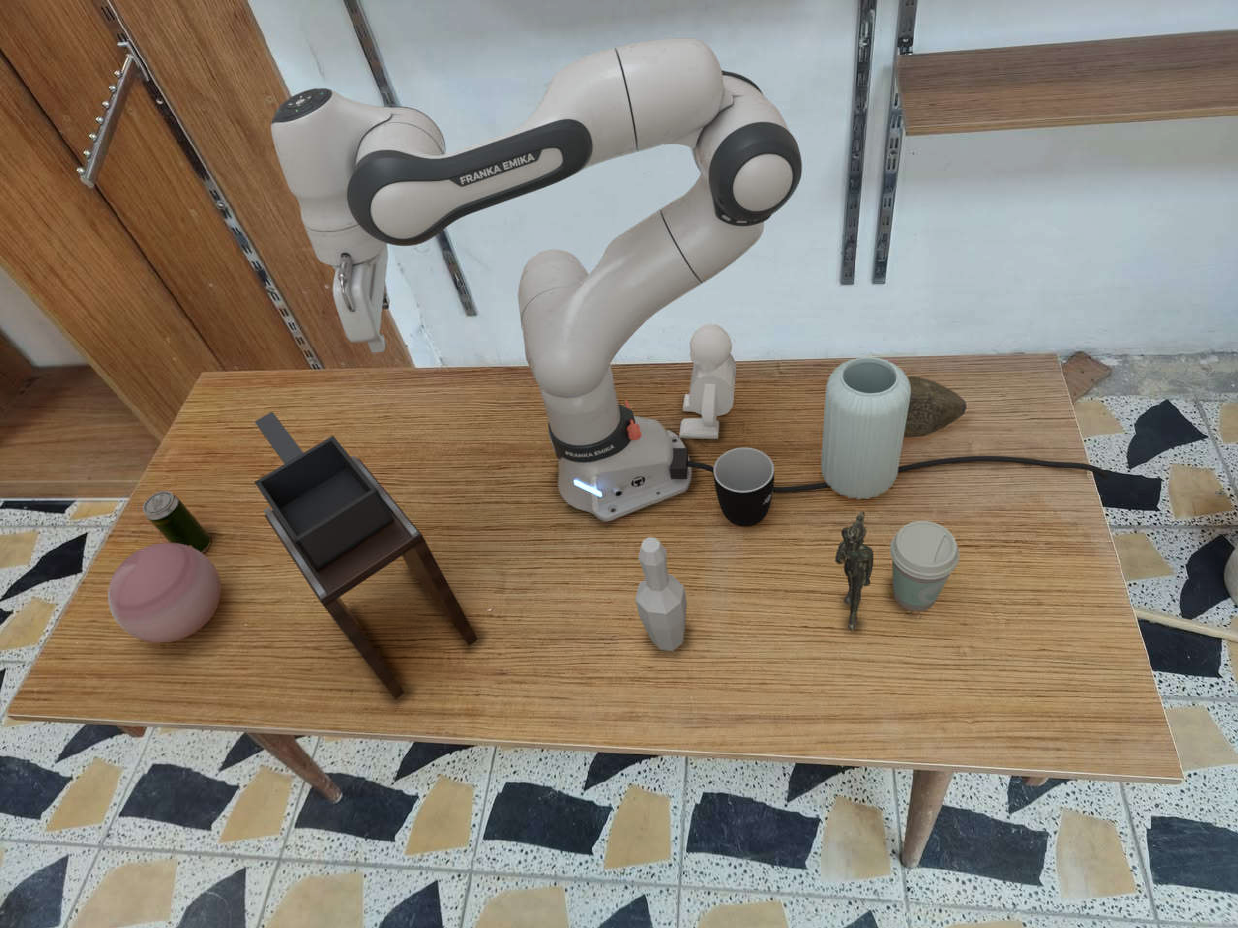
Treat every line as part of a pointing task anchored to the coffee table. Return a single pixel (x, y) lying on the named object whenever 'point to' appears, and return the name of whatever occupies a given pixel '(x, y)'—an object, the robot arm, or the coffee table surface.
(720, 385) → the toy robot
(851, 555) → the statue
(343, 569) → the stand
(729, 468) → the mug
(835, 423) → the vase
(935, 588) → the coffee cup
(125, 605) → the pink rounded ball
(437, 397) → the coffee table surface
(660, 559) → the faceted bottle
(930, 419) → the stone
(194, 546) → the beer can
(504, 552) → the coffee table surface
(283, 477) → the basket
